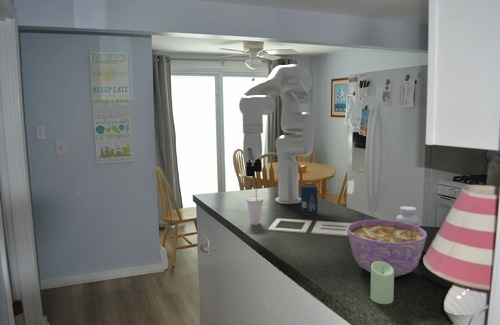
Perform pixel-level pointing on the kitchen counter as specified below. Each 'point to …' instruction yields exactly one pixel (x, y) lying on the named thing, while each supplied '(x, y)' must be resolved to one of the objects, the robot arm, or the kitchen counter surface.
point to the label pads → (319, 227)
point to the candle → (382, 282)
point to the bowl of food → (387, 244)
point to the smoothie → (255, 209)
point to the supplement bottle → (408, 215)
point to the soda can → (309, 199)
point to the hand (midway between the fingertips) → (254, 173)
